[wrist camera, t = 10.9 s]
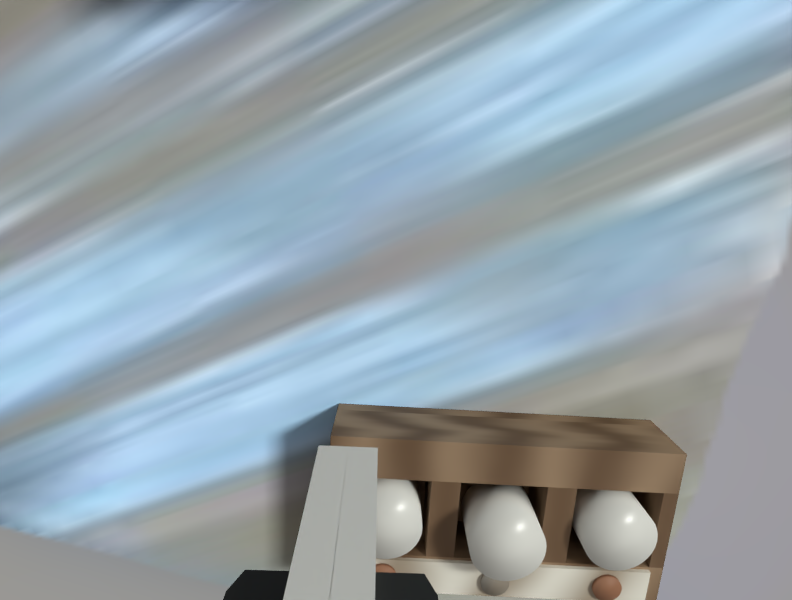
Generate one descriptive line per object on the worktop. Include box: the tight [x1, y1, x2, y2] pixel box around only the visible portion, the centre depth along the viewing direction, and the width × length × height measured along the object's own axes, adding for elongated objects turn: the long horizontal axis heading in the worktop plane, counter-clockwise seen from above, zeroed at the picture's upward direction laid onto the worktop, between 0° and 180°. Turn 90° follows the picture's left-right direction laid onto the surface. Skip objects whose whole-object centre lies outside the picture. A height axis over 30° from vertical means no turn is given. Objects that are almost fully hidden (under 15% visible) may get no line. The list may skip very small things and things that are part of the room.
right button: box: [572, 489, 658, 571], centre depth 36 cm, size 5×5×4 cm
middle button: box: [461, 483, 547, 581], centre depth 35 cm, size 5×5×4 cm
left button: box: [376, 478, 422, 559], centre depth 36 cm, size 5×5×4 cm
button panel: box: [330, 404, 687, 600], centre depth 37 cm, size 24×12×6 cm, turn 87°
